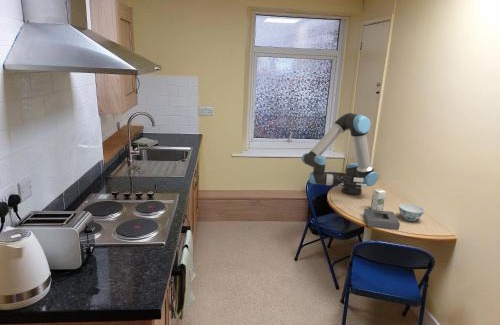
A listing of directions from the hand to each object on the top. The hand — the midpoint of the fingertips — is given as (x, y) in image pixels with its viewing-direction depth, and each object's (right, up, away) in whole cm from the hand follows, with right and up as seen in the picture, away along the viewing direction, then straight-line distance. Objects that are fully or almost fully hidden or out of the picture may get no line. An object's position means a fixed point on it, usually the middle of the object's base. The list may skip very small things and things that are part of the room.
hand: (364, 183), depth 232 cm
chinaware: (+26, -23, -8) cm, 36 cm away
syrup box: (+9, -19, +4) cm, 21 cm away
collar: (+5, -23, -14) cm, 28 cm away
